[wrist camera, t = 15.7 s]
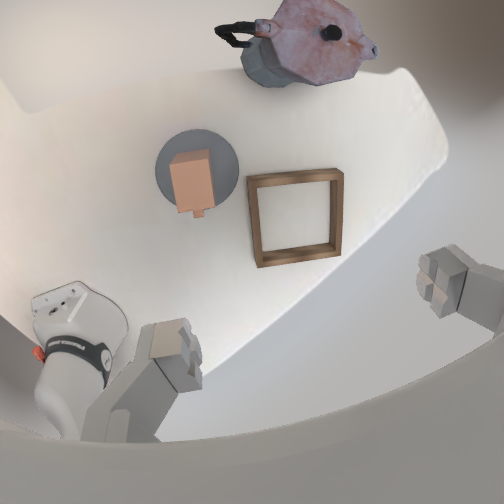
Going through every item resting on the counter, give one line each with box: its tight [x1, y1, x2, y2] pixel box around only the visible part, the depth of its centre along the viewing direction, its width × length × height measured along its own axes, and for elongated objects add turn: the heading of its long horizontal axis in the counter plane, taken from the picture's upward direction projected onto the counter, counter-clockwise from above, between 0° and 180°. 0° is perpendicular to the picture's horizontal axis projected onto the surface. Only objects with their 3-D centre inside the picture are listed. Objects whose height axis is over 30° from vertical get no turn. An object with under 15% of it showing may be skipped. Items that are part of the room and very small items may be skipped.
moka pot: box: [214, 0, 379, 88], centre depth 26 cm, size 10×15×20 cm, turn 92°
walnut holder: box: [247, 168, 344, 268], centre depth 45 cm, size 14×14×3 cm
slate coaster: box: [155, 129, 239, 210], centre depth 41 cm, size 12×12×1 cm
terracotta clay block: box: [169, 148, 215, 218], centre depth 37 cm, size 8×4×8 cm, turn 5°
